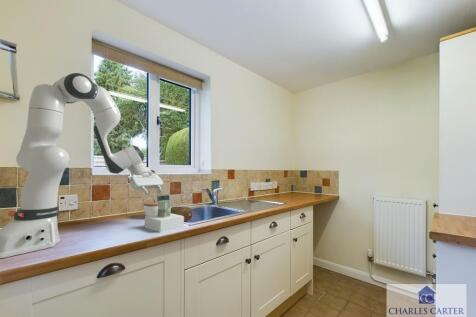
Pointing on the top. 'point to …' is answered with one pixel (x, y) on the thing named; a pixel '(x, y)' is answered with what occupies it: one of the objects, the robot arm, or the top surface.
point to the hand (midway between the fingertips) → (154, 193)
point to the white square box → (164, 222)
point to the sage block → (164, 208)
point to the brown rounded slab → (183, 212)
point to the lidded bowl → (151, 208)
